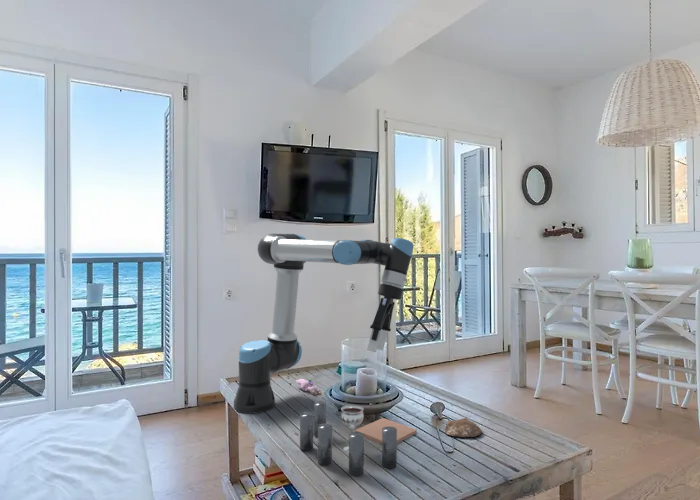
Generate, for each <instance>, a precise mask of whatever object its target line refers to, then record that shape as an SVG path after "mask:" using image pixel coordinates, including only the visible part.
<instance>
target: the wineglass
mask: <svg viewBox="0 0 700 500" xmlns="http://www.w3.org/2000/svg"><path fill="white" fill-rule="evenodd" d="M340 410H341V413H340V419H341V421H342V423H343V424H344V425H345V426H347V427H349V428H350V433H352V432H354V429H355V428H356V427H358V426H360V425H361V423H362V422H363V420H364V417H365V415H364V410H365V409H364V407H363V406H361V405H358V404H346V405H343V406H342V407H341V408H340ZM343 451H344V452H345V453H347V454H349V445H347V446H345V447H344V448H343Z"/></svg>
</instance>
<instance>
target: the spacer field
mask: <svg viewBox="0 0 700 500" xmlns="http://www.w3.org/2000/svg"><path fill="white" fill-rule="evenodd" d="M299 422H300V423H299V450H301V452H311V451H313V450H314V437H315V438H317V464H318V465H320V466H322V467H327V466H329V465H332V464H333V424H331V423H327V402H326V401H322V400H321V401H315V402H313V412H311V411H305V412H301V413H300V414H299ZM348 446H349V453H348V474H349V476H350V477H351V476H352V477H357V478H358V477H361V476H363V475H364V473H365V468H364V467H365V437H364V434H363V433H361V432H355V431H353V432H352V433H351V432H350V433H349V434H348ZM397 451H398V443H397V429H396V428H395V427H389V426H388V427H384V428H383V429H382V444H381V467H382V468H383V469H386V470H394V469H397V466H398V465H397V462H398V460H397V458H398V455H397V454H398V453H397Z"/></svg>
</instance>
